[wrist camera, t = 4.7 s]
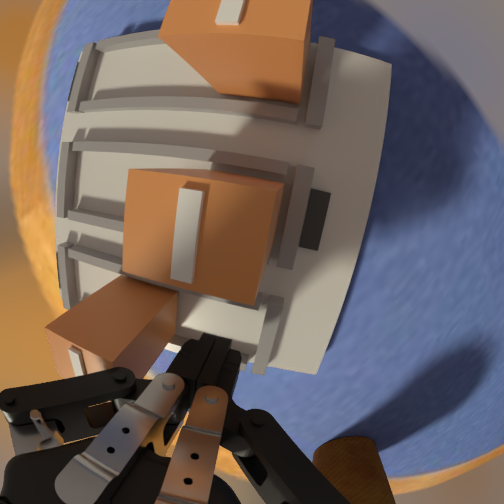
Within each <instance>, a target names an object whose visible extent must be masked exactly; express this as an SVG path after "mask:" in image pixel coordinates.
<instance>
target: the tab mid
mask: <svg viewBox="0 0 504 504" xmlns="http://www.w3.org/2000/svg"><path fill="white" fill-rule="evenodd" d="M284 187H285V183H283V182H278V181H273V180H268V179H262V178H257V177H251V176H246V175H240V174H234V173H228V172H222V171H215V170H208V169H179V168H145V169H129V171H128V179H127V189H126V199H125V212H124V229H123V265H122V271H123V272H126V273H130V274H133V275H137V276H140V277H143V278H147V279H150V280H154V281H157V282H161V283H165V284H168V285H172V286H176V287H179V288H183V289H187V290H191V291H195V292H198V293H202V294H206V295H210V296H214V297H218V298H222V299H227V300H231V301H235V302H239V303H243V304H248V305H252V306H254V303H255V300H256V297H257V294H258V291H259V287H260V284H261V281H262V278H263V274H264V271H265V268H266V265H267V261H268V258H269V255H270V252H271V248H272V245H273V242H274V237H275V232H276V227H277V222H278V217H279V212H280V207H281V202H282V197H283V192H284Z"/></svg>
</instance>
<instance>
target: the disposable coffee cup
mask: <svg viewBox="0 0 504 504" xmlns="http://www.w3.org/2000/svg"><path fill="white" fill-rule="evenodd" d="M312 463H313V465H314V466H315V467H316V468H317V469H318V470H319V471H320V472H321V473H322V474H323V475H324V477H325V478H326V479H327V480H328V481H329V482H330V483H331V484H332V485H333V486H334V487H335V488H336V489H337V490H338V491H339V492H340V493H341V494H342V495H343V496H344V497H345V498H346V499H347V500H348V501H349V502H350V503H351V504H396V503H395V500H394V497H393V494H392V491H391V488H390V485H389V482H388V479H387V476H386V473H385V470H384V468H383V465H382V462H381V459H380V456H379V454H378V451H377V448H376V445H375V442H374V441H373V440H371V439H370V438H366V437H361V436H351V437H344V438H339V439H335V440H332V441H330V442H327V443H325V444H323V445H322V446H320V447H319V448H318V449H317V450H316V451H315V452H314V455H313V461H312Z"/></svg>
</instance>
